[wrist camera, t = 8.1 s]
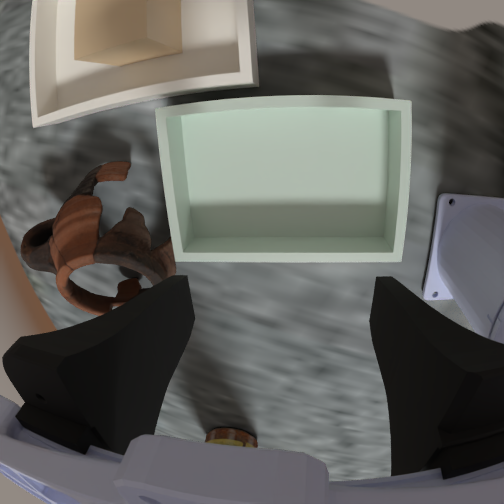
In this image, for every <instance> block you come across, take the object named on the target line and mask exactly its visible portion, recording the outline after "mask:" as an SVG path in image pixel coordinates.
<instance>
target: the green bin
mask: <svg viewBox="0 0 504 504" xmlns="http://www.w3.org/2000/svg"><path fill="white" fill-rule="evenodd" d="M155 113H156V124H157V134H158V144H159V153H160V161H161V170H162V178H163V185H164V193H165V200H166V207H167V213H168V220H169V227H170V233H171V239H172V245H173V251H174V257H175V262H401V260H402V253H403V246H404V238H405V230H406V221H407V211H408V200H409V187H410V170H411V139H412V113H411V101H408V100H399V99H388V98H376V97H360V96H335V95H288V96H263V97H247V98H234V99H223V100H213V101H204V102H196V103H188V104H181V105H174V106H168V107H162V108H156V109H155Z"/></svg>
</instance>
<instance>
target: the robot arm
mask: <svg viewBox="0 0 504 504" xmlns="http://www.w3.org/2000/svg"><path fill="white" fill-rule="evenodd" d="M450 199H453V202H452V204H449V200H450ZM434 292H436V294H434V295H432V294H433V293H434ZM422 295H423V297H424V299H425V300H443V299H454V300H455V301H456V303H457V304H458V306H459V307H460V309H461V310H462V312H463V313H464V315H465V316H466V318H467V320H468V321H469V323H470V324H471V326H472V328H473V329H474V331H475V332H476V333H475V332H472V331H470V330H468V329H466V328H464V327H462V326H460V325H459V324H457V323H455V322H454V321H452V320H450V319H448V318H447V317H445V316H444V315H442V314H441V313H439V312H438V311H436V310H435V309H433V308H432V307H431V306H429V305H428V304H427V303H425V302H424V301H423V300H421V299H420V298H419V297H417V296H416V295H415V294H414V293H412V292H411V291H410V290H409V289H407V288H406V287H405V286H404V285H402V284H401V283H400V282H399V281H397V280H396V279H395V278H393V277H391V276H390V277H376V282H375V289H374V296H373V302H372V308H371V314H370V320H369V322H370V329H371V336H372V342H373V346H374V350H375V353H376V357H377V360H378V364H379V368H380V371H381V375H382V379H383V382H384V386H385V390H386V395H387V402H388V411H389V420H390V434H391V477H383V478H374V479H363V480H351V481H331V482H329V472H328V470H327V467H326V464H325V463H324V462H322V461H321V460H319V459H316V458H314V457H312V456H310V455H308V454H306V453H303V452H295V451H288V450H282V449H267V448H252V447H240V446H230V445H222V444H214V443H206V442H199V441H193V440H187V439H181V438H175V437H170V436H164V435H154V432H155V428H156V424H157V420H158V417H159V413H160V409H161V406H162V403H163V399H164V396H165V393H166V390H167V387H168V385H169V382H170V380H171V377H172V375H173V373H174V371H175V369H176V367H177V365H178V362H179V360H180V358H181V356H182V354H183V352H184V349H185V347H186V345H187V343H188V340H189V338H190V335H191V331H192V328H193V324H194V321H195V315H194V310H193V305H192V299H191V294H190V288H189V283H188V277H187V276H185V275H172V276H170V277H168V278H166V279H164V280H163V281H161V282H159V283H158V284H156V285H154V286H153V287H151V288H150V289H148V290H146V291H145V292H143V293H142V294H140V295H138V296H137V297H135V298H133V299H131V300H130V301H128V302H126V303H124V304H123V305H121V306H119V307H117V308H115V309H113V310H111V311H109V312H107V313H105V314H103V315H101V316H98V317H96V318H94V319H91V320H88V321H86V322H83V323H80V324H77V325H74V326H71V327H68V328H64V329H61V330H57V331H53V332H48V333H43V334H37V335H31V336H24V337H20V338H19V339H18V340H17V341H16V342H15V343H14V344H13V345H12V346H11V347H10V348H9V350H7V352H6V353H5V354H4V356H3V357H2V358H3V367H4V369H5V372H6V374H7V376H8V377H9V379H10V381H11V382H12V383H13V385H14V387H15V388H16V390H17V391H18V393H19V394H20V396H21V397H22V399H23V400H24V402H25V403H24V405H23V406H22V407H19V406H18V405H17V404H16V403H14V402H13V401H11V400H9V399H7V398H5V397H3V396H1V395H0V472H1V473H2V474H3V475H4V476H5V477H7V478H8V479H10V480H11V481H13V482H14V483H15V484H17V485H18V486H20V487H22V488H23V489H25V490H26V491H28V492H29V493H31V494H32V495H34V496H36V497H37V498H39V499H40V500H42V501H44V502H45V503H47V504H504V198H497V197H487V196H475V195H463V194H449V193H443V194H441V195H440V196H439V197H438V201H437V210H436V218H435V225H434V232H433V239H432V245H431V251H430V257H429V263H428V268H427V273H426V278H425V283H424V288H423V292H422Z"/></svg>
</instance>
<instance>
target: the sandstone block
mask: <svg viewBox="0 0 504 504" xmlns="http://www.w3.org/2000/svg"><path fill="white" fill-rule="evenodd" d="M179 53H182V27H181V0H76V5H75V26H74V60H77V61H86V62H94V63H101V64H107V65H114V66H124V65H128V64H132V63H136V62H140V61H145V60H149V59H154V58H158V57H163V56H168V55H174V54H179Z"/></svg>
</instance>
